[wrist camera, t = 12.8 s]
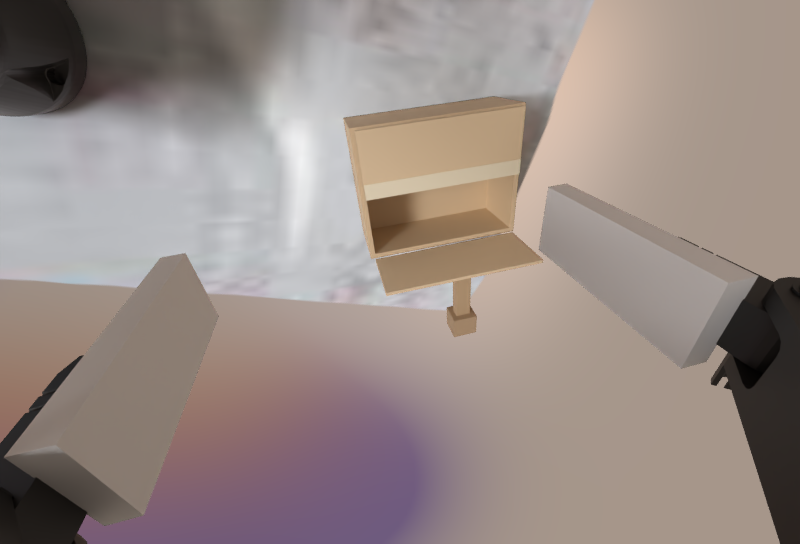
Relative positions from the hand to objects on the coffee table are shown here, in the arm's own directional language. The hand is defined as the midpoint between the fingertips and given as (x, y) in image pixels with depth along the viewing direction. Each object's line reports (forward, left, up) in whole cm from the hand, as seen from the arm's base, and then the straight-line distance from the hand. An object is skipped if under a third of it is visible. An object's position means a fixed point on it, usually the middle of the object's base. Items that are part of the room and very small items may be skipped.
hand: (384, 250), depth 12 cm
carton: (+11, -8, -35) cm, 37 cm away
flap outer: (+11, -16, -22) cm, 29 cm away
